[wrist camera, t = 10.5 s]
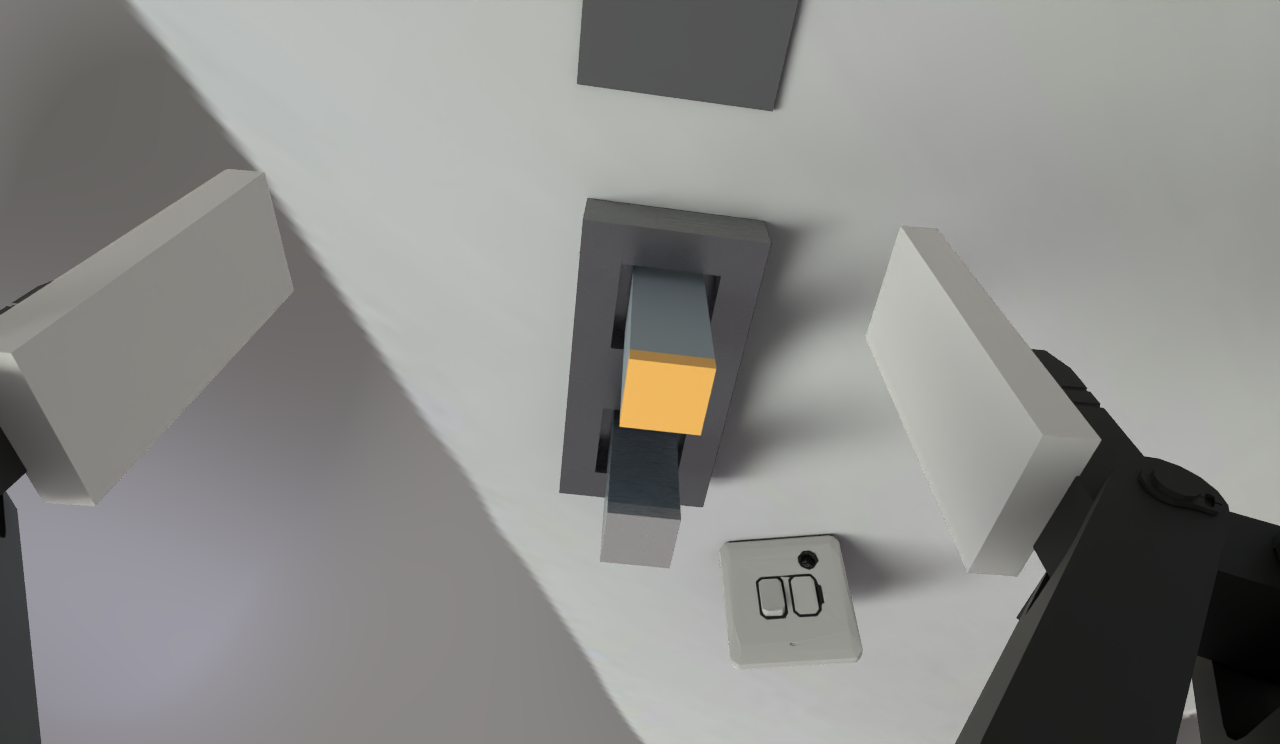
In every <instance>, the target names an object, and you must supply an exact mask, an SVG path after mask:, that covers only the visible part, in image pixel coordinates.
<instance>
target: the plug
mask: <svg viewBox="0 0 1280 744" xmlns="http://www.w3.org/2000/svg"><path fill="white" fill-rule="evenodd" d="M715 373H716V363H715V355H714V348H713V341H712V334H711V326H710V319H709V312H708V304H707V297H706V290H705V283H704V275H703V274H700V273H692V272H684V271H676V270H668V269H660V268H652V267H644V266H635V265H633V270H632V278H631V285H630V292H629V300H628V307H627V314H626V323H625V340H624V357H623V374H622V391H621V408H620V425H619V427H627V428H636V429H645V430H655V431H664V432H673V433H682V434H692V435H701V432H702V428H703V423H704V419H705V415H706V411H707V406H708V402H709V398H710V394H711V390H712V385H713V381H714V377H715Z"/></svg>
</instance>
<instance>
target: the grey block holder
mask: <svg viewBox="0 0 1280 744" xmlns="http://www.w3.org/2000/svg"><path fill="white" fill-rule="evenodd" d="M770 246H771V241H770V238H769V235H768V232H767V229H766V226H765V224H764V221H759V220H752V219H744V218H736V217H728V216H721V215H713V214H705V213H697V212H690V211H682V210H674V209H666V208H659V207H651V206H643V205H635V204H628V203H620V202H612V201H604V200H597V199H589V198H587V202H586V207H585V212H584V217H583V225H582V236H581V248H580V260H579V271H578V283H577V294H576V306H575V317H574V329H573V341H572V352H571V364H570V375H569V387H568V398H567V410H566V422H565V433H564V445H563V456H562V468H561V479H560V491H559V493H566V494H576V495H586V496H596V497H605V501H604V515H603V528H602V541H601V554H600V562H609V563H620V564H630V565H641V566H651V567H662V568H670V564H671V560H672V555H673V551H674V547H675V543H676V539H677V534H678V530H679V526H680V522H681V513H680V505H685V506H694V507H703V505H704V501H705V498H706V494H707V490H708V486H709V482H710V478H711V474H712V471H713V467H714V463H715V459H716V455H717V451H718V447H719V443H720V440H721V436H722V432H723V428H724V424H725V420H726V416H727V413H728V409H729V405H730V401H731V397H732V393H733V389H734V385H735V382H736V378H737V374H738V370H739V366H740V362H741V358H742V355H743V351H744V347H745V343H746V339H747V335H748V331H749V328H750V324H751V320H752V316H753V312H754V308H755V304H756V300H757V297H758V293H759V289H760V285H761V281H762V277H763V273H764V270H765V266H766V262H767V258H768V254H769V250H770ZM633 265H635V266H644V267H652V268H660V269H668V270H676V271H684V272H692V273H700V274H703V275H704V283H705V290H706V297H707V304H708V312H709V319H710V326H711V334H712V341H713V348H714V355H715V363H716V373H715V377H714V381H713V385H712V390H711V394H710V398H709V402H708V406H707V411H706V415H705V419H704V423H703V428H702V432H701V435H692V434H682V433H673V432H664V431H655V430H645V429H636V428H627V427H619V425H620V408H621V391H622V374H623V357H624V340H625V323H626V314H627V307H628V300H629V292H630V285H631V278H632V270H633Z"/></svg>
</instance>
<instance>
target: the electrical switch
mask: <svg viewBox="0 0 1280 744" xmlns="http://www.w3.org/2000/svg"><path fill="white" fill-rule="evenodd" d="M719 561H720V569H721V576H722V585H723V594H724V603H725V612H726V622H727V631H728V640H729V643H728V649H729V657H730V661H731V663H732V665H733V666H734V667H735V668H736V669H753V668H770V667H787V666H804V665H820V664H837V663H853V662H857V661H858V660H859V659H860V657H861V655H862V650H863V649H862V644H861V639H860V635H859V630H858V626H857V621H856V617H855V612H854V607H853V603H852V598H851V594H850V589H849V585H848V580H847V575H846V571H845V566H844V562H843V557H842V553H841V548H840V543H839V541H838V540H837V539H836V538H835V537H833V536H830V535H826V536H812V537H799V538H786V539H772V540H759V541H746V542H732V543H726V544H724V545H723V546H722V548H721V549H720V553H719ZM804 565H811V567H805V566H804Z"/></svg>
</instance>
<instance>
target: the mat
mask: <svg viewBox="0 0 1280 744" xmlns="http://www.w3.org/2000/svg"><path fill="white" fill-rule="evenodd" d="M797 5H798V0H583V8H582V22H581V35H580V49H579V63H578V77H577V84H580V85H587V86H594V87H602V88H609V89H616V90H623V91H630V92H637V93H645V94H652V95H659V96H666V97H673V98H680V99H688V100H695V101H702V102H709V103H716V104H723V105H731V106H738V107H745V108H752V109H759V110H766V111H773V108H774V104H775V99H776V95H777V91H778V86H779V82H780V78H781V73H782V69H783V65H784V61H785V56H786V52H787V48H788V43H789V39H790V35H791V30H792V26H793V22H794V18H795V13H796V9H797Z"/></svg>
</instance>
